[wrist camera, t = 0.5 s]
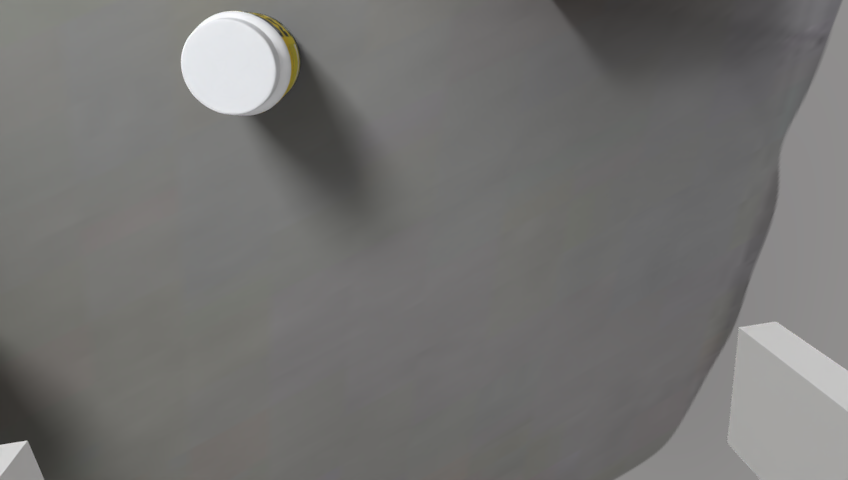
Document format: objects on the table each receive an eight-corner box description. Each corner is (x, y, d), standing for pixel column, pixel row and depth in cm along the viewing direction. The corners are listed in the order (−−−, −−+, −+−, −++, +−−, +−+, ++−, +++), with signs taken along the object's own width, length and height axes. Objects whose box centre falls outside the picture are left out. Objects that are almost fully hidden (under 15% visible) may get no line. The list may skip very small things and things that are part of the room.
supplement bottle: (305, 21, 32) (293, 21, 25) (296, 107, 34) (281, 132, 26) (215, 5, 32) (172, -2, 24) (210, 93, 33) (168, 115, 25)
